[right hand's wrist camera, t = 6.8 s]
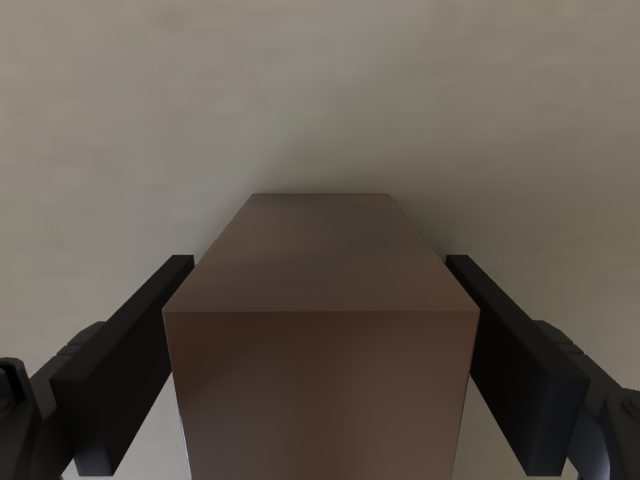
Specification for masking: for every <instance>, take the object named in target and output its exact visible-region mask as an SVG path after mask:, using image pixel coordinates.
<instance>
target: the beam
mask: <svg viewBox="0 0 640 480" xmlns="http://www.w3.org/2000/svg"><path fill="white" fill-rule="evenodd" d="M162 315H163V321H164V327H165V333H166V338H167V344H168V350H169V356H170V362H171V367H172V373H173V379H174V385H175V391H176V396H177V402H178V408H179V414H180V420H181V425H182V431H183V437H184V443H185V449H186V455H187V460H188V466H189V472H190V478H191V480H451V476H452V470H453V464H454V459H455V453H456V447H457V441H458V436H459V430H460V424H461V419H462V413H463V407H464V401H465V396H466V390H467V384H468V379H469V373H470V367H471V361H472V356H473V350H474V344H475V339H476V333H477V327H478V321H479V316H480V308H479V307H478V306H477V305H476V303H475V302H474V301H473V300H472V298H471V297H470V296H469V295H468V293H467V292H466V291H465V290H464V288H463V287H462V286H461V285H460V283H459V282H458V281H457V279H456V278H455V277H454V276H453V274H452V273H451V272H450V271H449V269H448V268H447V267H446V266H445V264H444V263H443V262H442V261H441V259H440V258H439V257H438V256H437V254H436V253H435V252H434V250H433V249H432V248H431V247H430V245H429V244H428V243H427V242H426V240H425V239H424V238H423V237H422V235H421V234H420V233H419V232H418V230H417V229H416V228H415V227H414V225H413V224H412V223H411V221H410V220H409V219H408V218H407V216H406V215H405V214H404V213H403V211H402V210H401V209H400V208H399V206H398V205H397V204H396V203H395V201H394V200H393V199H392V198H391V196H390V195H389V194H252V195H251V196H250V198H249V199H248V200H247V201H246V203H245V204H244V205H243V206H242V208H241V209H240V210H239V212H238V213H237V214H236V215H235V217H234V218H233V219H232V220H231V222H230V223H229V224H228V226H227V227H226V228H225V229H224V231H223V232H222V233H221V235H220V236H219V237H218V238H217V240H216V241H215V242H214V243H213V245H212V246H211V247H210V249H209V250H208V251H207V252H206V254H205V255H204V256H203V257H202V259H201V260H200V261H199V263H198V264H197V265H196V266H195V268H194V269H193V270H192V271H191V273H190V274H189V275H188V277H187V278H186V279H185V280H184V282H183V283H182V284H181V286H180V287H179V288H178V289H177V291H176V292H175V293H174V294H173V296H172V297H171V298H170V300H169V301H168V302H167V303H166V305H165V306H164V307H163V309H162Z"/></svg>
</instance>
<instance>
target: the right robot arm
mask: <svg viewBox="0 0 640 480" xmlns="http://www.w3.org/2000/svg"><path fill="white" fill-rule="evenodd" d="M445 266H446V267H447V268H448V269H449V271H450V272H451V273H452V274H453V276H454V277H455V278H456V279H457V281H458V282H459V283H460V285H461V286H462V287H463V288H464V290H465V291H466V292H467V293H468V295H469V296H470V297H471V298H472V300H473V301H474V302H475V303H476V305H477V306H478V307H479V308H480V316H479V321H478V327H477V333H476V339H475V344H474V350H473V356H472V361H471V367H470V373H469V374H470V375H471V377H472V379H473V381H474V382H475V384H476V386H477V388H478V390H479V391H480V393H481V395H482V397H483V398H484V400H485V402H486V404H487V406H488V407H489V409H490V411H491V413H492V414H493V416H494V418H495V420H496V422H497V423H498V425H499V427H500V429H501V430H502V432H503V434H504V436H505V438H506V439H507V441H508V443H509V445H510V446H511V448H512V450H513V452H514V454H515V455H516V457H517V459H518V461H519V462H520V464H521V466H522V468H523V470H524V471H525V473H526V475H527V476H561V474H562V470H563V467H564V464H565V461H566V458H567V457H568V458H569V460H570V461H571V463H572V464H573V465H574V467H575V468H576V470H577V471H578V473H579V474H578V477H577V480H640V391H637V390H631V389H626V388H622V387H621V386H620V385H619V384H618V383H617V382H615V381H614V380H613V379H612V378H611V377H610V376H609V375H608V374H607V373H606V372H605V371H604V370H603V369H601V368H600V367H599V366H598V365H597V364H596V363H595V362H594V361H593V360H592V359H591V358H590V357H588V356H587V355H584V352H583V351H582V350H581V349H580V348H579V347H578V346H577V345H574V344H573V342H572V341H571V340H570V339H569V338H568V337H567V336H566V335H565V334H564V333H563V332H562V331H560V330H559V329H557V328H555V327H553V326H552V325H550V324H548V323H546V322H545V321H543V320H532V319H531V318H530V317H529V316H528V315H527V314H526V313H525V312H524V311H523V310H522V309H521V308H520V307H519V306H518V305H517V304H516V303H515V302H514V301H513V300H512V299H511V298H510V297H509V296H508V295H507V294H506V293H505V292H504V291H503V290H502V289H501V288H500V287H499V286H498V285H497V284H496V283H495V282H494V281H493V280H492V279H491V278H490V277H489V276H488V275H487V274H486V273H485V272H484V271H483V270H482V269H481V268H480V267H479V266H478V265H477V264H476V263H475V262H474V261H473V260H472V259H471V258H470V257H469V256H468V255H447V257H446V264H445ZM194 268H195V264H194V257H193V255H172V256H171V257H170V258H169V259H168V260H167V261H166V262H165V263H164V264H163V265H162V266H161V267H160V268H159V269H158V270H157V271H156V272H155V273H154V274H153V275H152V276H151V277H150V278H149V279H148V280H147V281H146V282H145V283H144V284H143V285H142V286H141V287H140V288H139V289H138V290H137V291H136V292H135V293H134V294H133V295H132V296H131V297H130V298H129V299H128V300H127V301H126V302H125V303H124V304H123V305H122V306H121V307H120V308H119V309H118V310H117V311H116V312H115V313H114V314H113V315H112V316H111V317H110V318H109V319H108V320H107V321H98V322H96V323H94V324H93V325H91V326H89V327H87V328H85V329H84V330H82V331H80V332H79V333H78V334H77V335H76V336H75V337H74V338H73V339H72V340H71V341H69V342H68V343H67V346H64V347H63V348H62V349H61V350H60V351H59V352H58V353H57V355H56V356H53V357H52V358H51V359H50V360H49V361H48V362H47V363H46V364H45V365H44V366H43V367H42V368H41V369H39V370H38V371H37V372H36V373H35V374H34V375H33V376H32V377H31V378H30V379H29V378H28V375H27V372H26V369H25V366H24V363H23V362H22V361H21V360H19V359H17V358H9V357H4V358H0V480H63V477H62V473H63V472H64V470H65V469H66V467H67V466H68V465H69V463H70V462H71V460H72V459H73V458H74V461H75V464H76V467H77V471H78V474H79V476H113V475H114V473H115V471H116V470H117V468H118V466H119V464H120V462H121V461H122V459H123V457H124V455H125V454H126V452H127V450H128V448H129V446H130V445H131V443H132V441H133V439H134V438H135V436H136V434H137V432H138V430H139V429H140V427H141V425H142V423H143V422H144V420H145V418H146V416H147V414H148V413H149V411H150V409H151V407H152V406H153V404H154V402H155V400H156V398H157V397H158V395H159V393H160V391H161V390H162V388H163V386H164V384H165V382H166V381H167V379H168V377H169V375H170V374H171V372H172V367H171V362H170V356H169V350H168V344H167V338H166V333H165V327H164V321H163V315H162V309H163V307H164V306H165V305H166V303H167V302H168V301H169V300H170V298H171V297H172V296H173V294H174V293H175V292H176V291H177V289H178V288H179V287H180V286H181V284H182V283H183V282H184V280H185V279H186V278H187V277H188V275H189V274H190V273H191V271H192V270H193V269H194Z"/></svg>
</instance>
